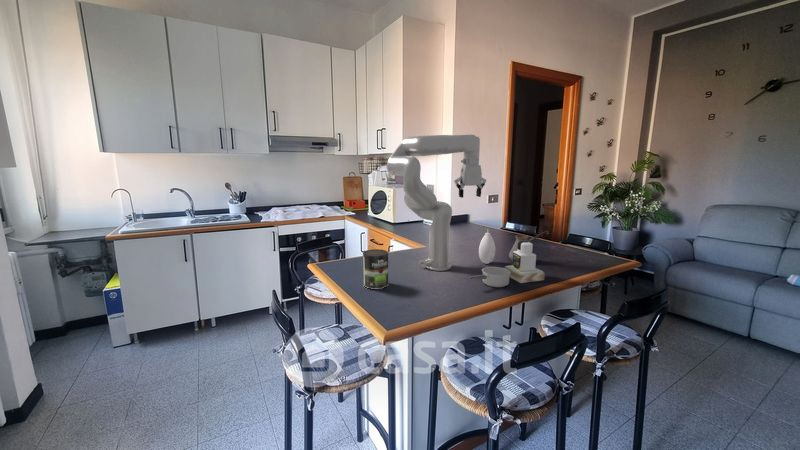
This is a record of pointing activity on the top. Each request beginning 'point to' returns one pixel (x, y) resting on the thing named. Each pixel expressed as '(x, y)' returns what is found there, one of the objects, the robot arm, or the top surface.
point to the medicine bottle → (524, 257)
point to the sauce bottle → (487, 248)
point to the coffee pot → (521, 238)
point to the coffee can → (375, 268)
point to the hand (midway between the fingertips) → (469, 196)
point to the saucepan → (494, 276)
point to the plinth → (525, 275)
